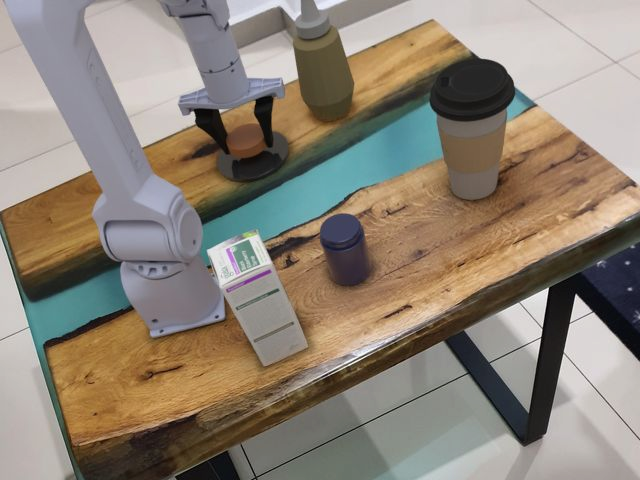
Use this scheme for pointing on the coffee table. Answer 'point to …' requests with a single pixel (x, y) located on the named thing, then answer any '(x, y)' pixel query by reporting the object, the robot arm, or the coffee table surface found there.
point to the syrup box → (257, 297)
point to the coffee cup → (472, 123)
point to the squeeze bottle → (322, 64)
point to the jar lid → (246, 141)
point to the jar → (345, 249)
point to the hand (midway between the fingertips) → (249, 146)
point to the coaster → (255, 162)
